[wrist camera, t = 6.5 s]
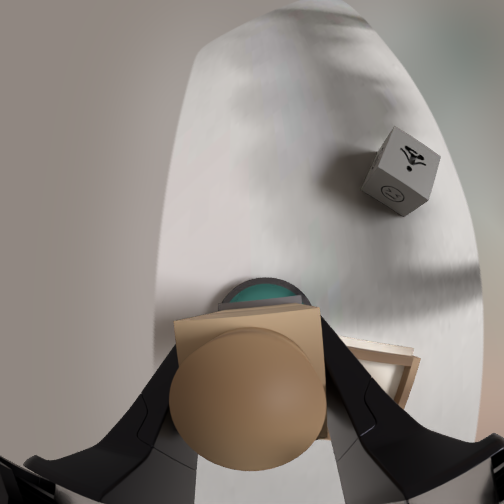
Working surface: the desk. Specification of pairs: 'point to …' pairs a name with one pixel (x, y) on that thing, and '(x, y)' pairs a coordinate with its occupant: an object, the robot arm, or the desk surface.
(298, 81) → the desk surface
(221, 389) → the stamp
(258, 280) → the pad
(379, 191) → the dice cube
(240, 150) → the desk surface
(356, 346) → the frame
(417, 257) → the desk surface
